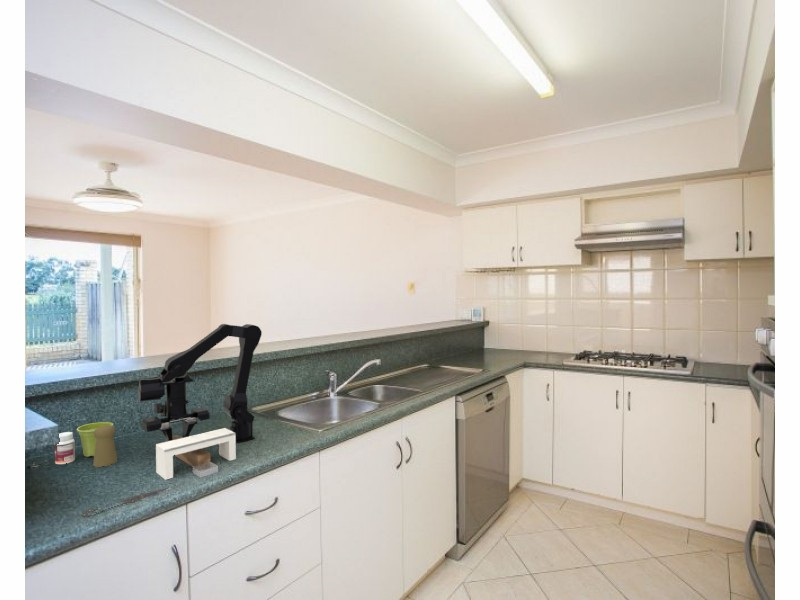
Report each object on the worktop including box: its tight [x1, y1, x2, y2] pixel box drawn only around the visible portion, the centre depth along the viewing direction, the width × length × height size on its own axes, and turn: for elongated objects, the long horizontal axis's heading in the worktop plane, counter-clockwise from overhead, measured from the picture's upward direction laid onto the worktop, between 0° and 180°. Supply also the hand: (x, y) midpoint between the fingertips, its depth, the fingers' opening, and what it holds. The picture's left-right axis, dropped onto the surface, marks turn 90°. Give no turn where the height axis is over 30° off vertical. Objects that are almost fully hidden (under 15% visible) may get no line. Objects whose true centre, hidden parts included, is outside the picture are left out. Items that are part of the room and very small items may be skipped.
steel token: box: [191, 460, 219, 478], centre depth 125 cm, size 5×5×2 cm
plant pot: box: [76, 421, 114, 458], centre depth 139 cm, size 9×9×9 cm
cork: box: [92, 425, 118, 468], centre depth 132 cm, size 6×6×11 cm
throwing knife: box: [81, 487, 174, 518], centre depth 108 cm, size 4×20×1 cm, turn 138°
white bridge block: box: [155, 427, 237, 481], centre depth 130 cm, size 20×7×8 cm, turn 137°
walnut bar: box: [165, 434, 211, 467], centre depth 135 cm, size 4×24×4 cm, turn 48°
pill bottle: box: [54, 431, 76, 465], centre depth 133 cm, size 5×5×8 cm
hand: (177, 445), depth 140 cm, fingers closed on walnut bar, 4 cm apart
